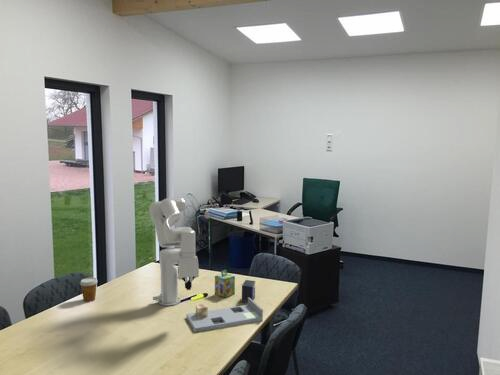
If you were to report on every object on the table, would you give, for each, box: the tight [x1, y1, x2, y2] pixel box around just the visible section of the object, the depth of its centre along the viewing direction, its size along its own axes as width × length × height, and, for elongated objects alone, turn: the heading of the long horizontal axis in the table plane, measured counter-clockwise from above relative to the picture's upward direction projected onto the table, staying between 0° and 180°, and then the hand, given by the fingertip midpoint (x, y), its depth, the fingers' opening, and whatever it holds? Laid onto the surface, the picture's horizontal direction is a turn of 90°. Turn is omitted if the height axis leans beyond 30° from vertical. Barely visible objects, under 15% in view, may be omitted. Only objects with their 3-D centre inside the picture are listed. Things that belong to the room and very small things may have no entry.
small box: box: [241, 279, 256, 304], centre depth 235 cm, size 11×6×10 cm, turn 168°
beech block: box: [195, 303, 209, 318], centre depth 208 cm, size 5×5×5 cm
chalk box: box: [214, 269, 236, 298], centre depth 244 cm, size 9×9×15 cm
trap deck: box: [185, 298, 264, 333], centre depth 208 cm, size 36×18×6 cm, turn 113°
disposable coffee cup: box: [79, 277, 99, 303], centre depth 233 cm, size 10×10×12 cm
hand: (188, 289), depth 204 cm, fingers closed
